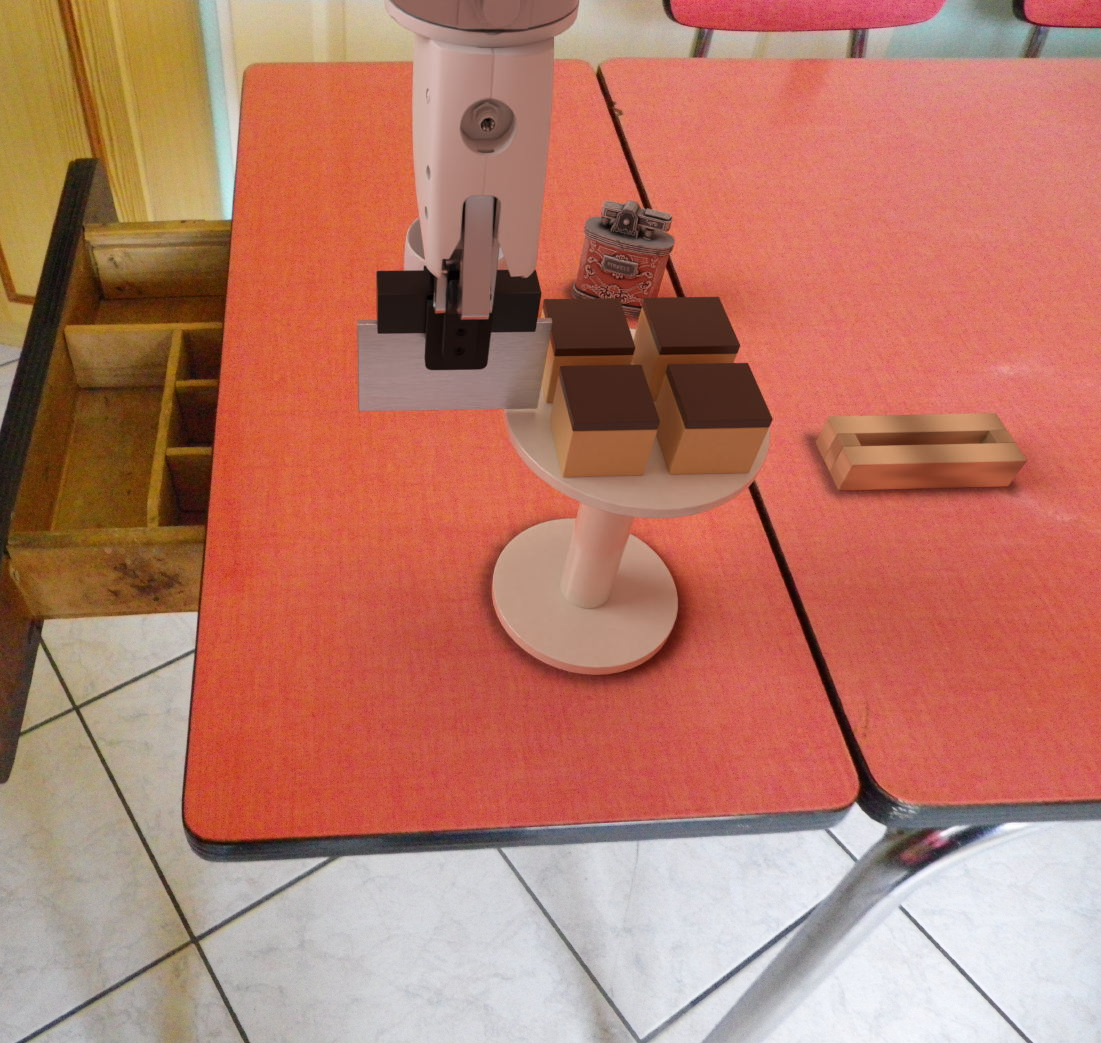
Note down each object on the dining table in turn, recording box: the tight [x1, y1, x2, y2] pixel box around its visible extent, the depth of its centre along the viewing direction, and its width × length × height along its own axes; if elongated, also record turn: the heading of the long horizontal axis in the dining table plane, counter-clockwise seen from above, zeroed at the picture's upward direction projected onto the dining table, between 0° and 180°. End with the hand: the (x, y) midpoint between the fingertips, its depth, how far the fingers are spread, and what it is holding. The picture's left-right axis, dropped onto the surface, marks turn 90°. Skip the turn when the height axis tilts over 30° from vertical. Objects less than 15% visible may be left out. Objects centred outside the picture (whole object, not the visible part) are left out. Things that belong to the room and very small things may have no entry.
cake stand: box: [491, 328, 771, 676], centre depth 61 cm, size 15×15×18 cm
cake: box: [540, 296, 774, 477], centre depth 53 cm, size 10×10×4 cm
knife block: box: [815, 412, 1028, 491], centre depth 76 cm, size 14×5×3 cm, turn 93°
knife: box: [356, 269, 552, 413], centre depth 50 cm, size 10×2×8 cm, turn 93°
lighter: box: [571, 200, 676, 318], centre depth 87 cm, size 8×3×10 cm, turn 67°
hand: (453, 346), depth 50 cm, fingers closed on knife, 2 cm apart
